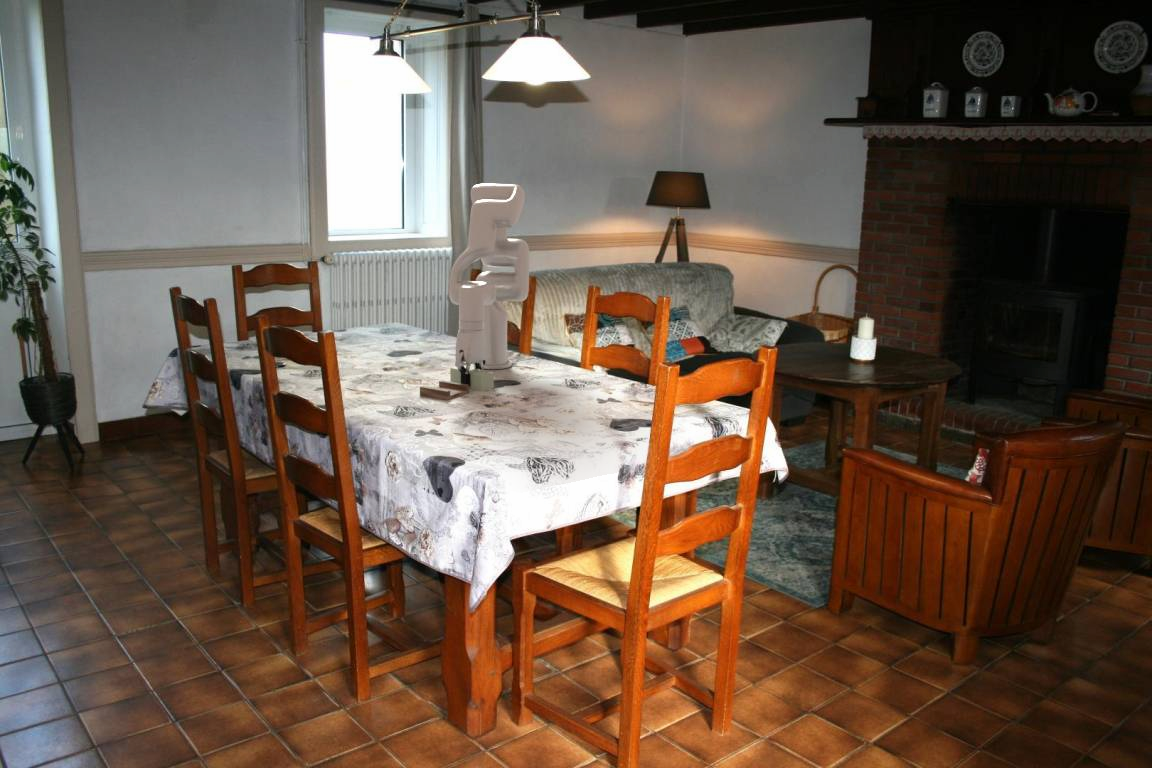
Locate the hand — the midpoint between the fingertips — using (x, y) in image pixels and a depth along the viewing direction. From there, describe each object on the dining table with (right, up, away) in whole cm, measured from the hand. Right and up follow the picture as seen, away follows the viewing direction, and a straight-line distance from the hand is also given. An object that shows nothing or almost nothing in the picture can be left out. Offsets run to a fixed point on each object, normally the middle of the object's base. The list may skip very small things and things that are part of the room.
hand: (471, 383), depth 302 cm
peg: (0, -1, 0) cm, 1 cm away
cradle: (-7, -3, -11) cm, 13 cm away
